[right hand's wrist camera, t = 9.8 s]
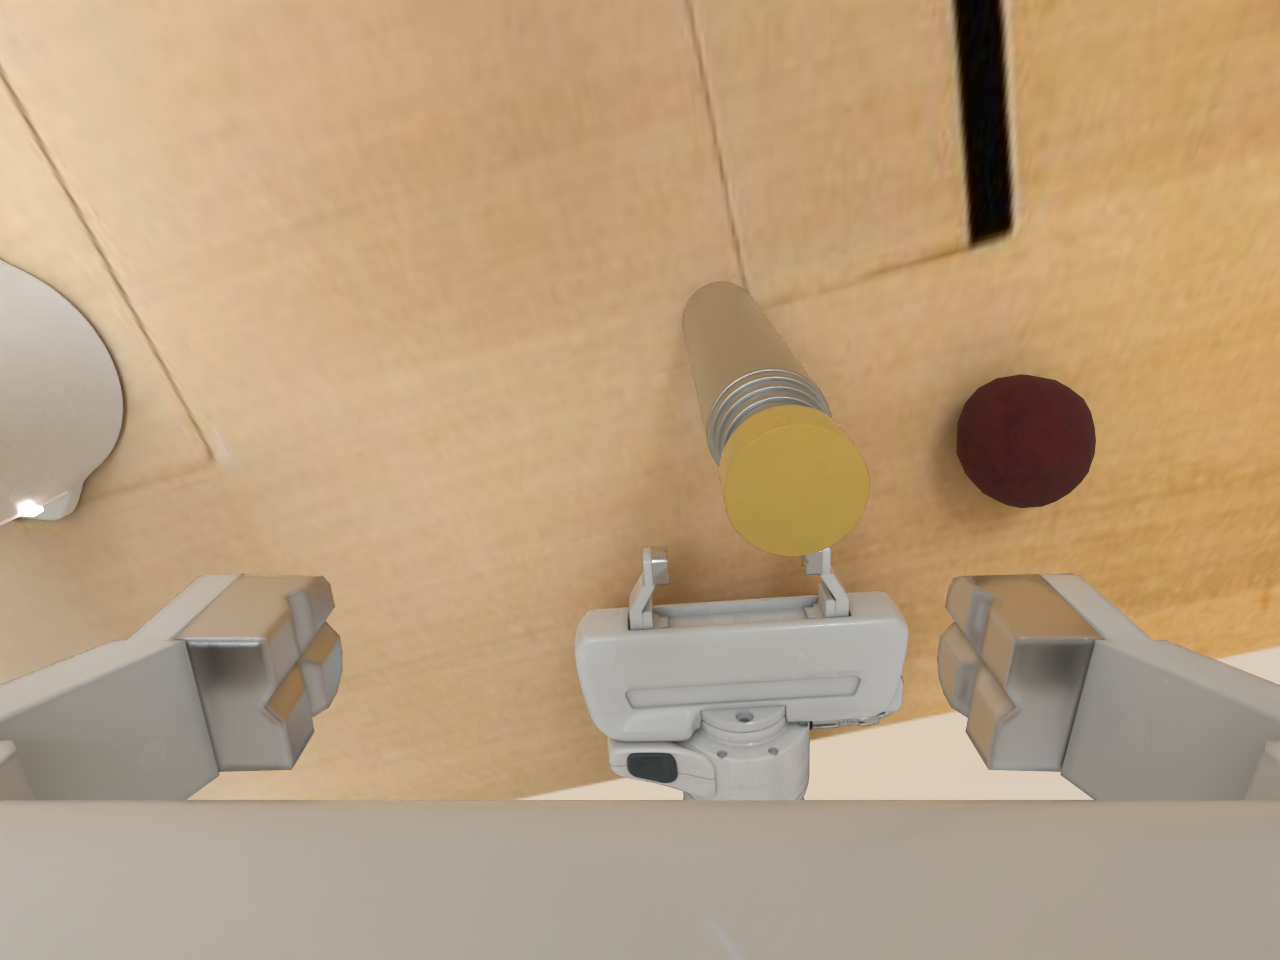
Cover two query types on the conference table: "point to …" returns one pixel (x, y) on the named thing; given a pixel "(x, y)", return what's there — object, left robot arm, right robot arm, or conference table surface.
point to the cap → (792, 481)
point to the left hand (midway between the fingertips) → (734, 545)
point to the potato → (1025, 440)
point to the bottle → (740, 363)
